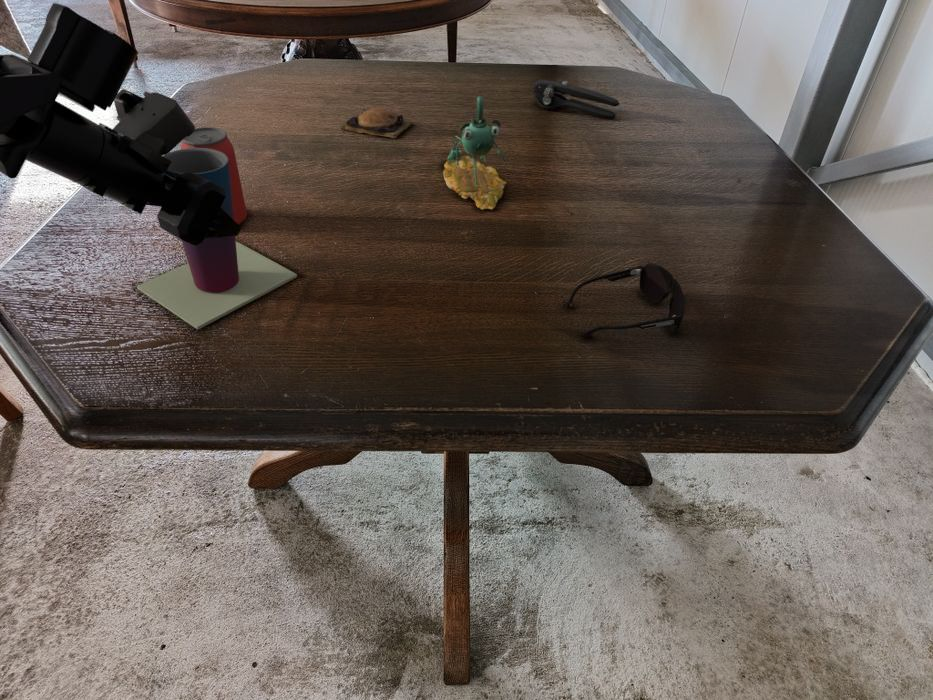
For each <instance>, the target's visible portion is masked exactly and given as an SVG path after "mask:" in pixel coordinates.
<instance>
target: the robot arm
mask: <svg viewBox="0 0 933 700" xmlns="http://www.w3.org/2000/svg"><path fill="white" fill-rule="evenodd" d="M138 54H139V51H138V50H137V49H136V48H135V46H133V45H132V44H131V43H129V42H128V41H127V40H125V39H124V38H122V37H121V36H119V35H118V34H117V33H115V32H114V31H110V30H108V29H105V28H103V27H101V26H100V25H99V24H96V23H95V22H93V21H92V20H89V19H88V18H86V17H84V16H82V15H81V14H79V13H77V12H75V10H73V9H71V8H70V7H69V6H67V5H64V4H61V3H59V2H53V3H52V4H51V6H50V9H49V10H48V11H47V14H46V18H45V23H44V26H43V29H42V30H41V32H40V34H39V35H38V38H37V40H36V42H35V44H34V46H33V48H32V50H31V51H30V54H29V56H28V58H27V60H26V59H24V58H22V57H20V56H18V55H16V54H13V53H12V54H11V53H9V54H0V173H1V174H3V175H4V176H6V177H8V178H9V179H16V178H17V177H18V176H19V174H20V172H21V170H22V168H23V166H24V164H25V161H27V162H30V164H34V165H36V166H38V167H40V168H43V169H45V170H47V171H49V172H52V173H54V174H56V175H58V176H60V177H62V178H64V179H67V180H68V181H71V182H73V183H75V184H78V185H80V186H81V187H83V188H85V189H86V190H88V191H90V192H91V193H93V194H96V195H98V196H100V197H106V198H108V199H111V200H113V201H115V202H117V203H119V204H121V205H122V206H124V207H126V208H128V209H130V210H131V211H133V212H136V213H137V214H139V215H142V214H143V212H144V210H145V208H146V206H150V207H159V211H158V212H157V215H156V217H157V221H158V224H159V227H160V229H162V230H163V231H165V232H166V233H169V234H171V235H172V236H174V237H176V238H177V239H178V240H180V241H182V240H183V241H185V242H187V243H190V244H192V245H194V246H197V245H199V244H201V243H202V242H203V240H204V239H210V238H220V237H232V236H235V237H237V236H239V234H240V232H241V230H242V227H241V225H240V224H239V225H238V224H237V223H236V222H235V221H234V220H233V219H232V218H231V217H230V216H229V215H228V214H227V213H226V212H225V211H224V210H223V209H222V208H221V205H222V203H223V201H224V199H225V197H226V193H225V189H223V188H221V187H219V186H218V185H216V184H214V183H212V182H211V181H209V180H207V179H205V178H203V177H201V176H199V175H196V174H194V173H192V172H190V171H189V172H186V173H183V174H180V175H178V176H177V178H176V179H174V178H172V177H170V176H168V175H166V174H164V173H163V172H167V170H168V168H169V166H170V164H171V162H172V161H170V160H169V159H167V158H165V157H163V156H164V155H165V154H167V153H170V152H172V150H174V148H176V146H178V145H179V144H180V143H182V140H183V139H184V138H185V137H186V136H190V135H191V134H192V133H193V132H194V130H195V129H196V126H195V124H194V123H193V121H192V120H191V119H190V117H189V116H188V115H187V114H186V112H185V111H184V109H183V108H182V107H181V105H180V104H179V103H178V101H177V100H176V99H174V98H172V97H169V96H167V95H164V94H163V93H160V92H156V91H155V92H151V93H150V92H148V91H144V92H143V93H142V94H143V96H144V97H142V96H140V95H138V94H137V93H133V92H132V91H129V90H127V89H124V88H122V86H123V84H124V82H125V80H126V78H127V76H128V74H129V72H130V70H131V68H132V66H133V64H134V62H135V61H136V58H137V56H138ZM121 88H122V89H121ZM59 95H60V96H61V97H63V98H64V99H67V100H68V101H70V102H72V103H74V104H76V105H77V106H80V107H81V108H83V109H84V110H86V111H89V112H91V113H93V112H94V111H95V109H96V107H97V108H99V109H101V110H103V111H107V108H109V109H110V108H111V107H112V106H113V104H114V106H115V111H116V114H117V116H116V117H115V118H116V119H117V120H118V123H117V124H116V125H115V126H114V127H112V128H111V127H109V126H108V125H105V124H104V123H101V122H99V123H96V122H94V121H93V120H91V119H89V118H87V117H86V116H84V115H82V114H80V113H79V112H77V111H75V110H73V109H71V108H69V107H68V106H66V105H65V104H62V103H61V102H59V101H57V98H58V96H59ZM166 186H167V187H169V188H171V189H170V191H169V190H168V189H166Z"/></svg>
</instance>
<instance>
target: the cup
mask: <svg viewBox="0 0 933 700" xmlns="http://www.w3.org/2000/svg"><path fill="white" fill-rule="evenodd" d="M162 156H163V157H165V158H167V159H169V160H170V161H172V162H171V164H170V166H169V168H168V170H167V172H163V173H164V174H166V175H168V176H170V177H172V178H174V179H176V178H177V176H178V175H180V174H183V173H186V172H189V171H190V172H192V173H194V174H196V175H199V176H201V177H203V178H205V179H207V180H209V181H211V182H212V183H214V184H216V185H218V186H219V187H221V188H223V189H225V193H226V197H225V199H224V201H223V203H222V205H221V208H222V209H223V210H224V211H225V212H226V213H227V214H228V215H229V216H230V217H231V218H232V219H233V220H234V216H233V205H232V194H231V182H230V171H229V159H228V157H227V156H226V155H225V154H224V153H222V152H220V151H217V150H213V149H207V148H187V149H181V148H180V149H176V150H173V151H172V150H171V151H170V152H169V153H167V154H165V155H162ZM166 189H168V190H169V191H170V189H171V188H169V187H167V186H166ZM236 241H237V239H236V236H232V237H220V238H210V239H204V240H203V242H202V243H201V244H199V245H197V246H194V245H192V244H190V243H187V242H185V241H183V240H181V243H182V247H183V249H184V253H185V256H186V261H187V263H189V267H190V270H191V273H192V277H193V280H194V284H195V286H196V287H197V288H198V289H200V290H202V291H205V292H222V291H226V290H229V289H231V288H233V287H234V286H235V285H236V284H237V283H238V281H239V273H238V262H237V251H236Z"/></svg>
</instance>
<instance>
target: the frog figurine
mask: <svg viewBox="0 0 933 700" xmlns="http://www.w3.org/2000/svg"><path fill="white" fill-rule="evenodd" d="M491 124H492V126H489V125H488V120H487V119H486V117H484V98H483V97H482V96H481V95H480V96H477V97H476V115H475V119H474V118H473V117H471V118H470V123H469V122H465V123H463V124H462V125H461V126H460V128H459V132H460V133H461V132H462V135H461V138H460V137H459V136H458V135H455V136H454V141H453V145H452V148H451V149H450V150H449V153H448V155H447V156H446V157H447V159H446V162H445V163H444V164H443V166H444V170H443V172H442V174H443V179H444V181H445V184H446V186H447V188H448V189H450V190H451V191H455V193H457V194H458V196H460V197H461V198H462V199H465V200H467V199H469V198H470V199H472V201H474V202H475V205H476V207H477V208H479V209H480V210H482V211H483V210H494V209H495V208H496V206H497V203H498V201H499V200H500V199H502V196H503V194H504V189H505V186H506V185H507V181H504V179H502V178H500V177H499V173H498V171H497V170H496V169H495V168H494V167H492V166H486V165H485V164H484V163H486V161H487V157H486V155H487V154H489V153H490V152H491V150H493V149H492V148H494V147H496V149H497V154H498V156H501V157H502V159H503V162H506V160H507V159H506V156H505V155H503V153H502V151H501V150H500V148H499V147H498V145H497V143H496V142H495V137H497V136H498V135H499V134H500V133H499V132H500V127H502V123H501V122H500V120H498V119H493V120H491ZM457 139H458V140H459V143H458V141H457ZM461 144H462V148H458V147H459V146H460V145H461ZM463 149H464V151H465V153H466V154H468V155H463V156H462V153H463ZM477 157H480V160H482V159H483V160H484V163H481V162H480V160H477Z"/></svg>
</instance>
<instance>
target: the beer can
mask: <svg viewBox="0 0 933 700" xmlns="http://www.w3.org/2000/svg"><path fill="white" fill-rule="evenodd" d="M187 148H207V149H213V150H217V151H220V152H222V153H224V154H225V155H226V156H227V157H228V159H229V171H230V182H231V194H232V205H233V216H234V221H235V222H236V223H237V224H238V225H239V226H240V224H242V223H243V222H244V221H245V219H246V218H247V216H248V211H247V207H246V201H245V197H244V191H243V188H242V182H241V176H240V172H239V167H238V162H237V158H236V153H235V152H236V151H235V148H234V145H233V143H232V142H231V140H230V139H229V137H228V133H227V132H226V130H224V129H222V128H218V127H215V126H214V127H213V126H212V127H211V126H206V127H205V126H204V127H195V130H194V132H193V133H192V134H191V135H190V136H186V137H185V138H184V139H183V140H182V141H181V144H180V149H187Z"/></svg>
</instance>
